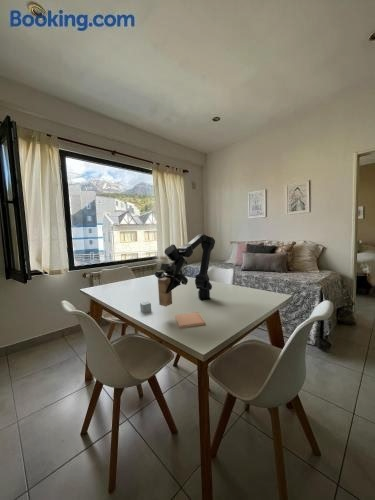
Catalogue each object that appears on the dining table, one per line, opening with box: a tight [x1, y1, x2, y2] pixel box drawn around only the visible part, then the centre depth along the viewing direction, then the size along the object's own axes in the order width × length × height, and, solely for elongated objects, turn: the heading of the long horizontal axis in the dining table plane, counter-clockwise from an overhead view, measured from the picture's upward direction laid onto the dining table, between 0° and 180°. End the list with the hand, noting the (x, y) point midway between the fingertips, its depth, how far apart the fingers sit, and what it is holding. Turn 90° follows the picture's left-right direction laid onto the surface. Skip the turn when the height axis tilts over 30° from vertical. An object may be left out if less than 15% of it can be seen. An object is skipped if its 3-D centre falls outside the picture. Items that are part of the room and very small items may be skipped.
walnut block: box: [157, 277, 173, 307], centre depth 101 cm, size 4×4×13 cm
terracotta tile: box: [174, 312, 206, 329], centre depth 98 cm, size 12×12×1 cm
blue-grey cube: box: [139, 300, 152, 314], centre depth 112 cm, size 4×4×4 cm
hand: (163, 292), depth 100 cm, fingers closed on walnut block, 4 cm apart
